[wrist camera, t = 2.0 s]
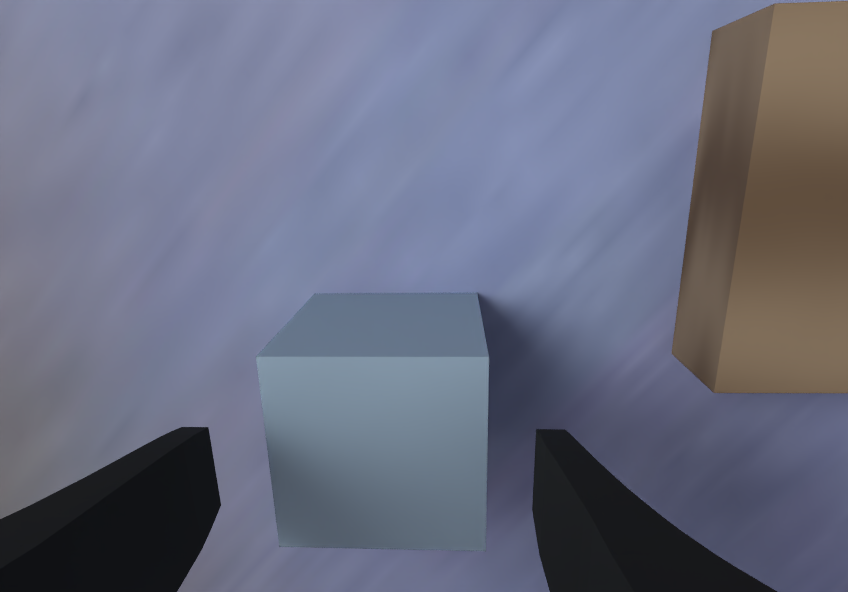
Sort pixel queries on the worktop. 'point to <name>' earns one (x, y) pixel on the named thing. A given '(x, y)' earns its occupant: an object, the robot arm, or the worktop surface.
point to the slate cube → (379, 422)
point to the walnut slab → (770, 208)
